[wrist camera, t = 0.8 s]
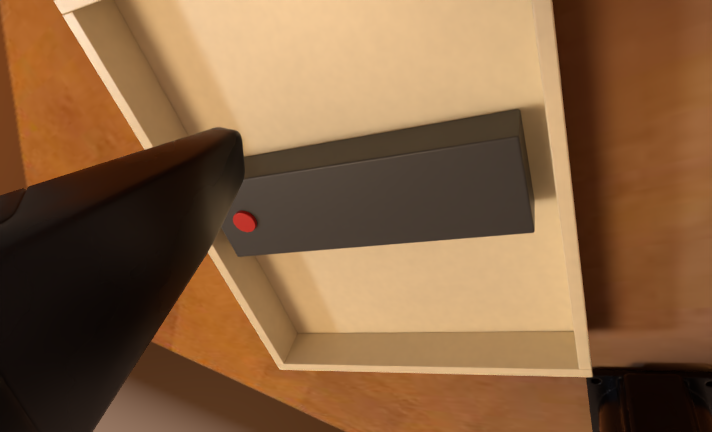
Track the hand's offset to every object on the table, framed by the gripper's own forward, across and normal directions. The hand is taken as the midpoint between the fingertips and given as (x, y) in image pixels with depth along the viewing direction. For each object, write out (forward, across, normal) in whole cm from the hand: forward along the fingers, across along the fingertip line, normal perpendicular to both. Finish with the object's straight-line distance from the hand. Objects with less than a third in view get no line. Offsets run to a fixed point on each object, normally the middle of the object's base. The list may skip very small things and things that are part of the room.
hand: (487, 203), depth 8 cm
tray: (+13, +5, +9) cm, 17 cm away
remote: (+13, +5, +9) cm, 16 cm away
